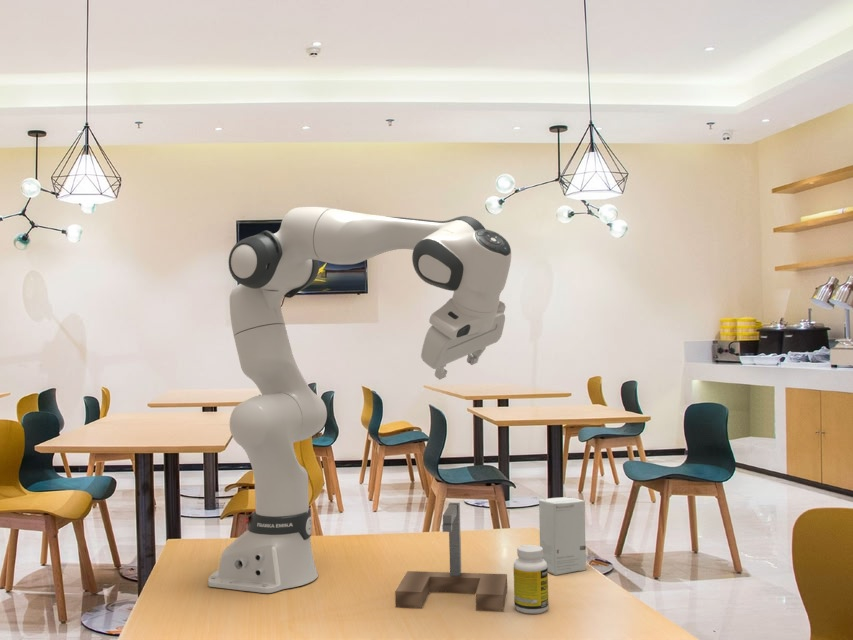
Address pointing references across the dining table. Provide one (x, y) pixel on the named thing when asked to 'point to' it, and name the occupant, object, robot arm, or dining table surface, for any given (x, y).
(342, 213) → the robot arm
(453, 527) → the hook arm
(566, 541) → the skincare box
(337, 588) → the dining table surface
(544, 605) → the pill bottle
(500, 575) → the cutout shelf
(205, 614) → the dining table surface
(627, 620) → the dining table surface
